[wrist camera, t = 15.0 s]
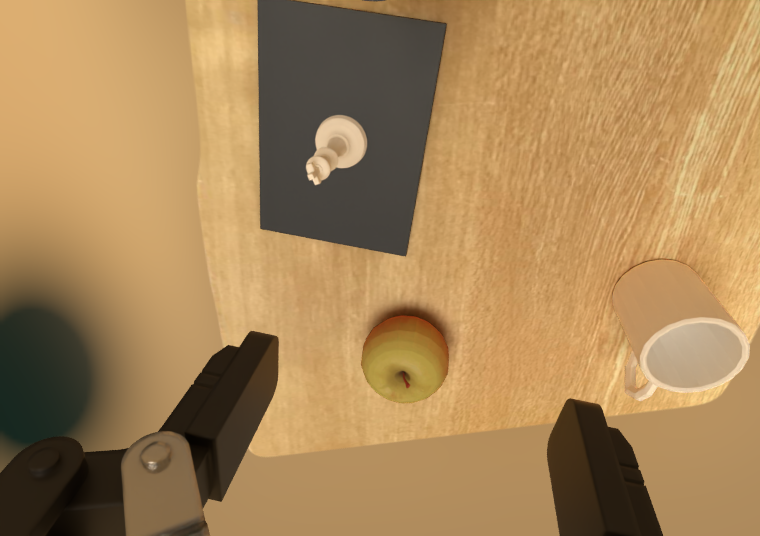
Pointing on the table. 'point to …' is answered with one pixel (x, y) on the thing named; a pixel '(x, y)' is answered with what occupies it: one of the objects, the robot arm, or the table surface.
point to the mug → (676, 330)
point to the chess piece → (336, 147)
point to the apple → (405, 359)
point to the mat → (350, 98)
